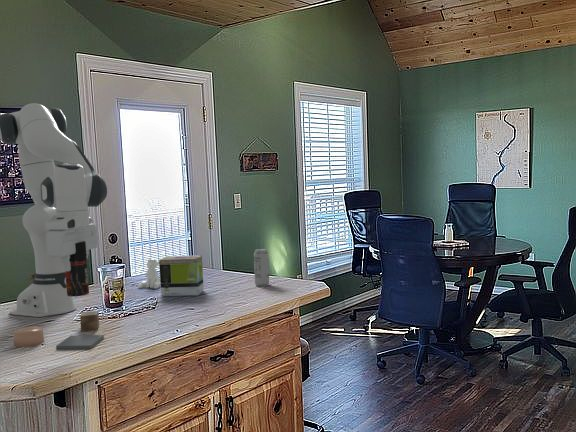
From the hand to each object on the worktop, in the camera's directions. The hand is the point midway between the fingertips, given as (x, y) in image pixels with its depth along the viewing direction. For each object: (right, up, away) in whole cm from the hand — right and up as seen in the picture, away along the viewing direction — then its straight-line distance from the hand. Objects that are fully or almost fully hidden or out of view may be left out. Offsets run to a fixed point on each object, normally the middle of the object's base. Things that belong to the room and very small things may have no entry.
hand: (75, 268), depth 166 cm
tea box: (+19, -16, +65) cm, 70 cm away
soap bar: (-15, -18, +4) cm, 24 cm away
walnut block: (-2, -21, +18) cm, 27 cm away
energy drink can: (+50, -14, +77) cm, 93 cm away
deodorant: (0, -8, +1) cm, 8 cm away
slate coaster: (+1, -22, +2) cm, 22 cm away
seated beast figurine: (+3, -15, +81) cm, 82 cm away
